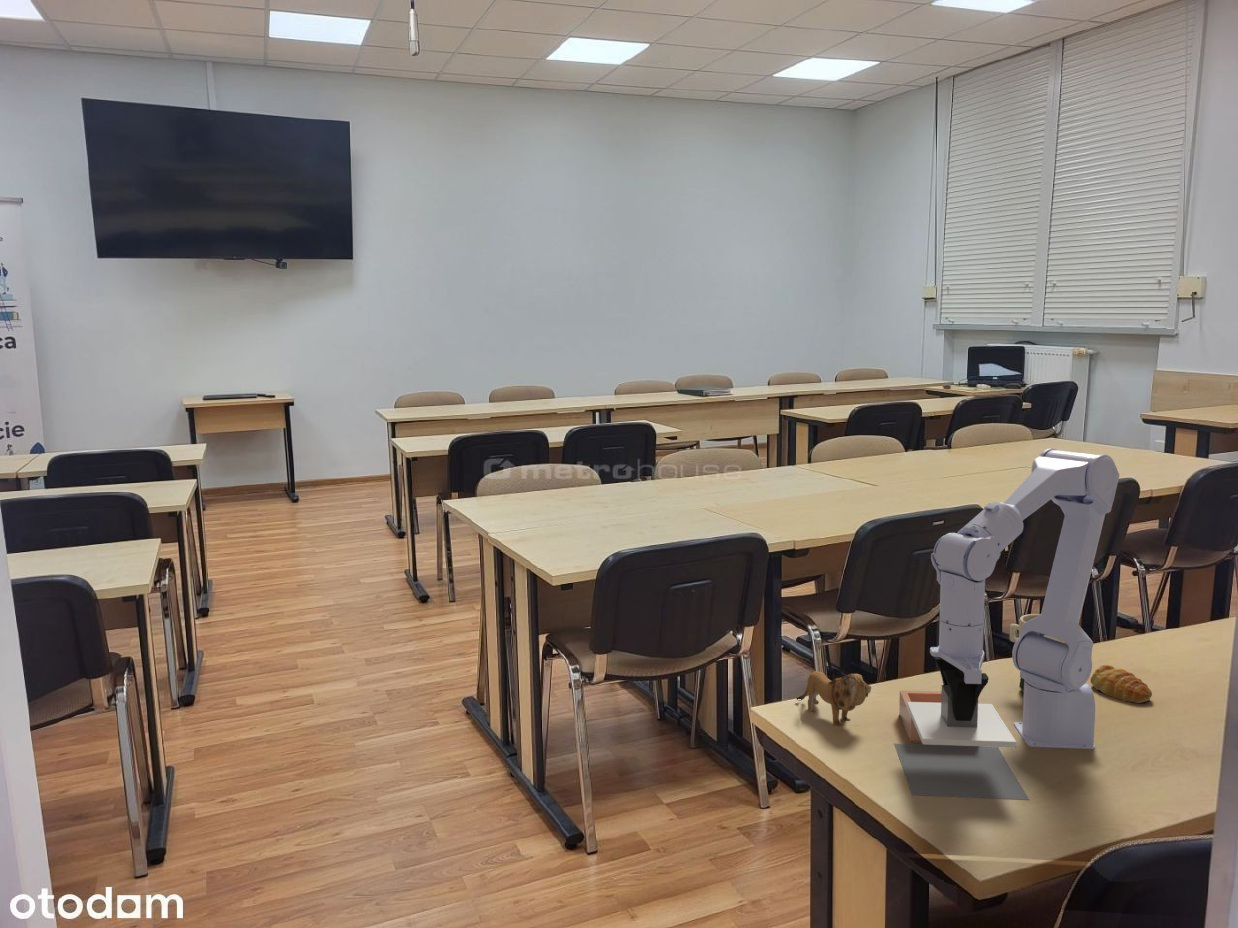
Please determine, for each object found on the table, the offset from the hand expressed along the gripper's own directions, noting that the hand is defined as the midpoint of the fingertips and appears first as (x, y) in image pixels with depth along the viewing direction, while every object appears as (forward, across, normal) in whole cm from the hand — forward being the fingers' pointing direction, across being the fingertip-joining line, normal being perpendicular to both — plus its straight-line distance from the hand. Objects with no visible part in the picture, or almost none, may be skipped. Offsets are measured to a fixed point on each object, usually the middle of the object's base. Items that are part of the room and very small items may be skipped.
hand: (959, 712), depth 125 cm
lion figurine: (+9, -17, -16) cm, 25 cm away
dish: (+9, -13, 0) cm, 16 cm away
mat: (+9, 0, 0) cm, 9 cm away
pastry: (+10, -31, +34) cm, 46 cm away
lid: (+2, 0, 0) cm, 2 cm away
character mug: (+9, -29, +20) cm, 36 cm away
